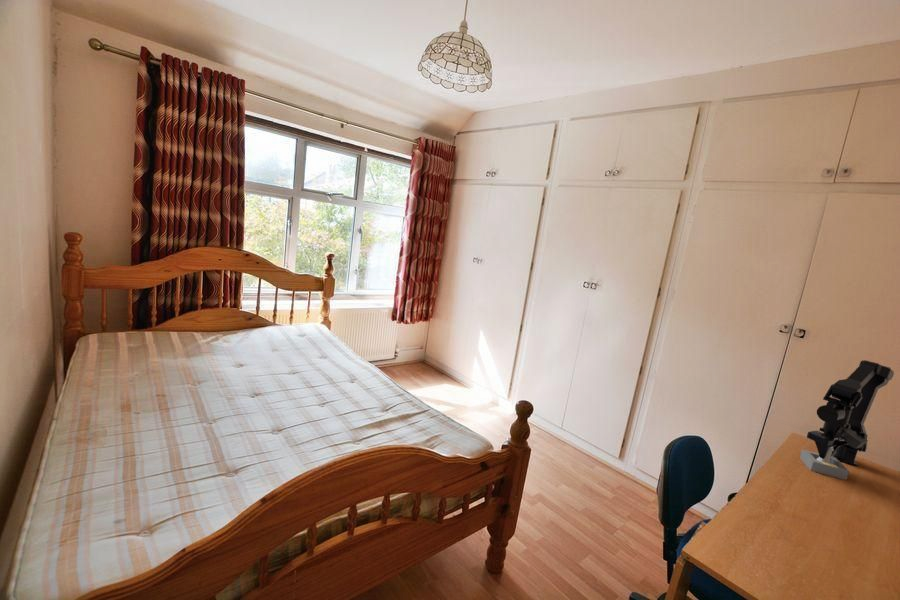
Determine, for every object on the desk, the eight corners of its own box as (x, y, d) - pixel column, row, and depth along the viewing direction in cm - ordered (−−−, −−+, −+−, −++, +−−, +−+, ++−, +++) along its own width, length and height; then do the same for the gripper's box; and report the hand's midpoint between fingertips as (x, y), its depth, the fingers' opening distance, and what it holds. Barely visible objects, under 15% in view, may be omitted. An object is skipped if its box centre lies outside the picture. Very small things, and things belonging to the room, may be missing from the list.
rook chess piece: (812, 463, 148) (818, 443, 146) (818, 461, 150) (824, 441, 148) (827, 470, 144) (834, 449, 142) (833, 468, 146) (839, 448, 144)
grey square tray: (799, 457, 153) (802, 448, 153) (832, 466, 149) (835, 457, 149) (810, 470, 144) (813, 461, 144) (846, 480, 140) (849, 470, 140)
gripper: (851, 431, 133) (838, 473, 135) (881, 427, 139) (867, 467, 142) (811, 415, 143) (800, 455, 145) (841, 412, 150) (829, 450, 152)
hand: (825, 457), depth 146 cm, fingers open, 4 cm apart
